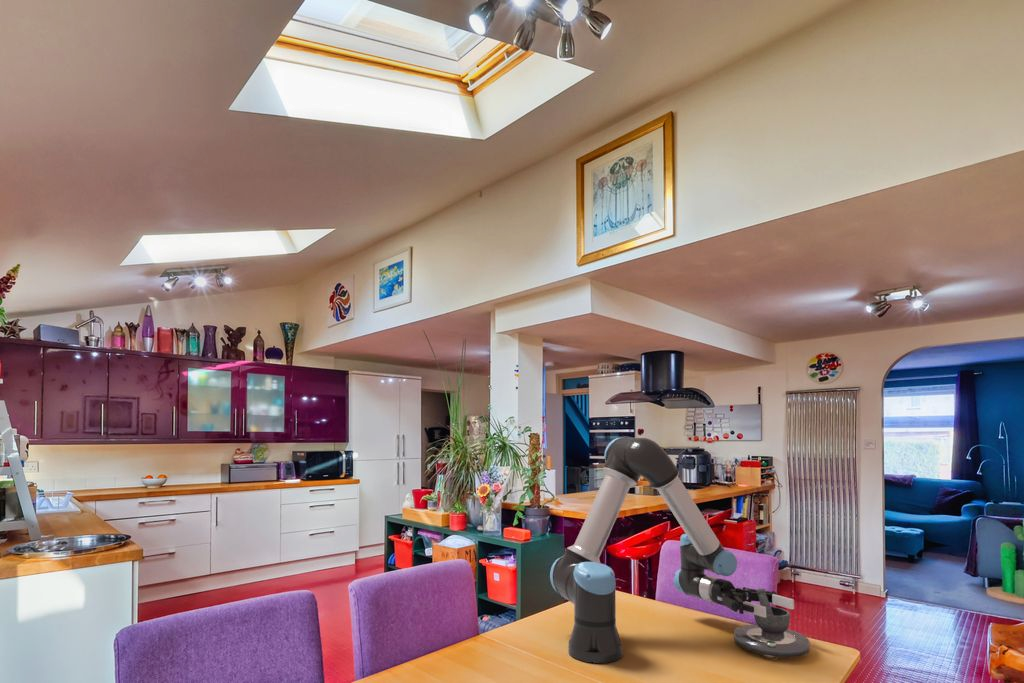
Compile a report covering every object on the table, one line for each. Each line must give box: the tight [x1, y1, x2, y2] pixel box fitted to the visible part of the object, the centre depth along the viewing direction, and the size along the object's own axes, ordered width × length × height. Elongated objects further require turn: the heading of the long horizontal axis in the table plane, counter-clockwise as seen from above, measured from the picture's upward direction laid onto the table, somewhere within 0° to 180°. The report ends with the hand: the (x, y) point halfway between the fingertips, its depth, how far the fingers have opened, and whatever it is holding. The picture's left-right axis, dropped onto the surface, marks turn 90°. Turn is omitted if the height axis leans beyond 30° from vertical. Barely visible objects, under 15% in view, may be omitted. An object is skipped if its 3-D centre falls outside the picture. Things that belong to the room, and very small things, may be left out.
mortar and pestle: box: [753, 588, 791, 640], centre depth 175 cm, size 11×9×12 cm
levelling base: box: [733, 624, 811, 660], centre depth 174 cm, size 20×20×4 cm
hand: (779, 608), depth 172 cm, fingers open, 13 cm apart
